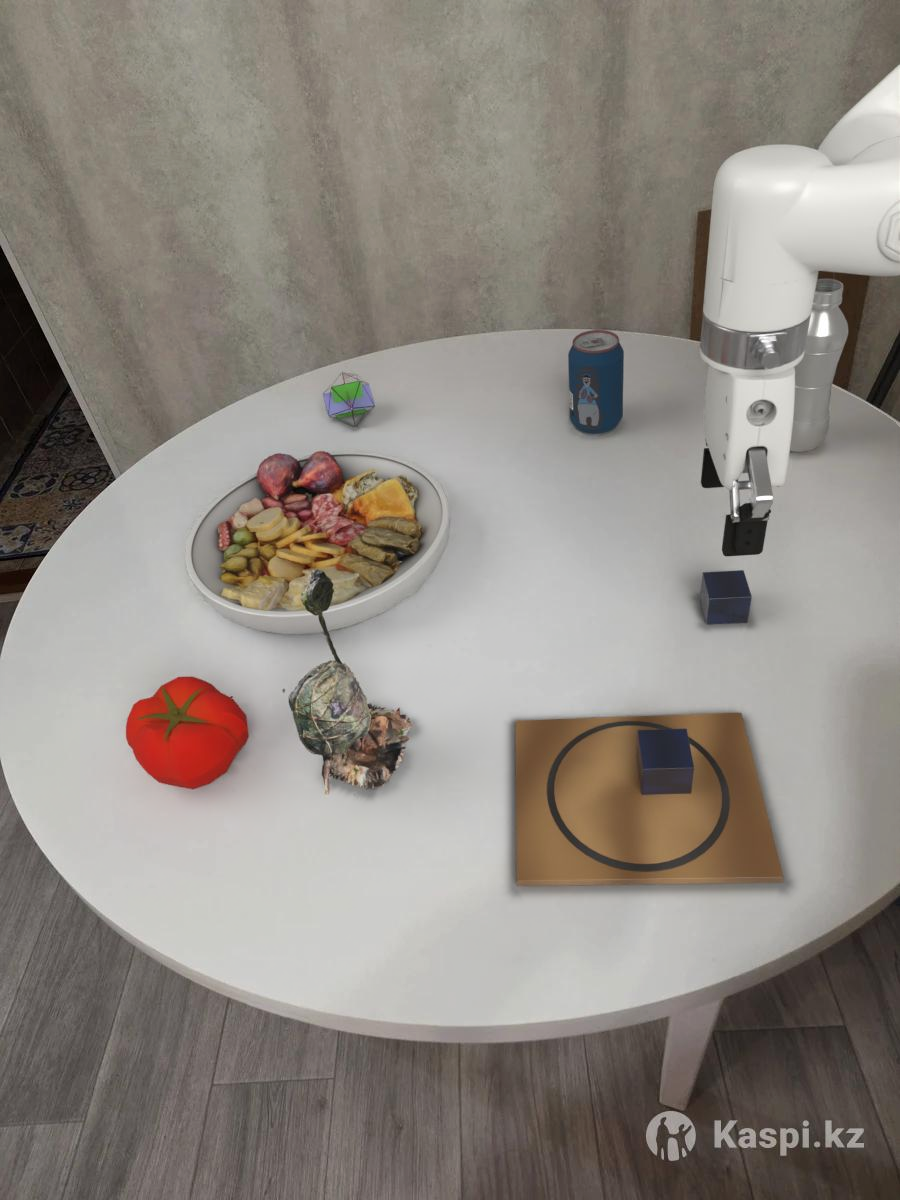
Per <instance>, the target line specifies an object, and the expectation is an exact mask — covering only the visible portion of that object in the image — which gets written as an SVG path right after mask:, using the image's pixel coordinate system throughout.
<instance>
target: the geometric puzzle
mask: <svg viewBox="0 0 900 1200" xmlns="http://www.w3.org/2000/svg"><path fill="white" fill-rule="evenodd" d="M341 375H342V380H343V383H341V384H338V385H337V384H336V385H334V384H335V383H336V381H337V380H338V379H339V376H341ZM339 376H338V377H336V379H335V381H333V382H332V385H330V386H328V387H327V389H326V390H325V391H323V393H321V394H322V397H323V401H324V405H325V409H326V414H327V417H329V418H332V419H334V420H335V419H336V420H337V421H339V422H342V423H343V424H345V425H348V426H350V427H353V428H355V429H356V428H357V427H358V425H359V424H360V423H361V421H363V420H364V419H365V417H367V415H365V414H367V412H368V411H369V412H370V410H373V409H374V408H375V407H376V404H375V401H374V397H373V394H372V390H371V387H370V383H368V381H366V380H365V379H363V378H362V377H361V376H359V375H358V374H357V373H351V372H345V371H341V373H339ZM329 389H330V392H327V390H329ZM369 408H370V409H369ZM366 409H368V410H366ZM361 414H362V417H361V418H360V419H359V421H358V422H357V424H356V422H355V417H354V416H357V415H361ZM333 416H335V417H333ZM346 417H352V421H353V424H354V425H352V424H351V423H348V422H346V421H345V420H342V419H343V418H346Z"/></svg>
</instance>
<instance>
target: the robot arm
mask: <svg viewBox="0 0 900 1200" xmlns="http://www.w3.org/2000/svg"><path fill="white" fill-rule="evenodd" d="M708 236H709V237H708V246H707V247H708V248H707V257H706V268H705V269H706V271H705V283H704V293H703V307H702V316H701V317H702V318H701V330H700V340H699V349H698V350H699V351H698V352H699V356H700V359H701V360H702V361H703V362H704V363H705V364H707V365H708V368H707V369H708V370H707V376H706V384H705V385H706V386H705V395H704V405H703V432H704V437H705V439H704V441H705V447H703V455H702V463H701V464H702V465H701V476H700V485H701V487H702V488H703V489H713V488H714V489H717V488H725V489H726V490H728V491H729V492H728V493H729V510H730V513H729V514H725V519H724V520H725V522H724V527H723V528H724V529H723V536H722V544H721V552H722V555H723V556H724V557H739V556H740V557H742V556H743V557H744V556H757V555H761V554H762V553H763V550H764V545H765V538H766V532H767V527H768V521H769V520H770V514H771V513H772V509H771V508H772V505H773V503H774V495H773V489H772V488H775V487H776V488H781V487H782V486H783V485H784V484H785V482H786V481H787V474H788V467H789V460H790V452H791V451H790V444H791V435H792V426H793V416H794V403H795V368H794V366H796V365H797V364H798V363H800V362H801V360H802V359H803V357H804V353H805V346H806V340H807V335H808V329H809V323H810V317H811V310H812V305H813V300H814V294H815V288H816V283H817V280H818V277H819V272H828V273H840V274H851V275H860V276H870V277H896V276H900V63H899V64H898V65H897V66H896V67H895V68H893V70H891V71H890V72H889V73H888V74H887V75H886V76H885V77H883V78H882V79H881V80H880V81H879V82H878V83H877V84H876V85H875V86H874V87H873V88H872V89H871V90H870V91H869V92H867V93H866V94H865V95H864V96H863V97H862V98H861V99H860V100H859V101H857V102H856V103H855V104H854V105H853V106H852V107H851V108H850V109H849V110H848V111H847V112H846V113H845V114H844V115H843V116H842V117H841V118H840V119H839V120H838V121H837V123H836V124H834V126H833V127H832V128H831V130H830V131H829V132H828V134H827V135H826V136H825V138H824V139H823V140H822V141H821V143H820V145H819V146H818V149H815V148H812V147H808V146H805V145H799V144H787V143H784V144H778V143H776V144H764V145H759V146H754V147H749V148H747V149H743V150H740V151H738V152H736V153H733V154H732V155H731V156H730V157H728V158H726V159H725V160H724V161H723V162H722V164H721V165H720V166H719V168H718V170H717V172H716V175H715V178H714V182H713V190H712V201H711V211H710V223H709V235H708ZM742 474H748V480H740V481H739V479H740V477H741V475H742ZM742 490H750V496H749V502H745V503H742V505H741V497H740V495H741V494H740V491H742Z"/></svg>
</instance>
